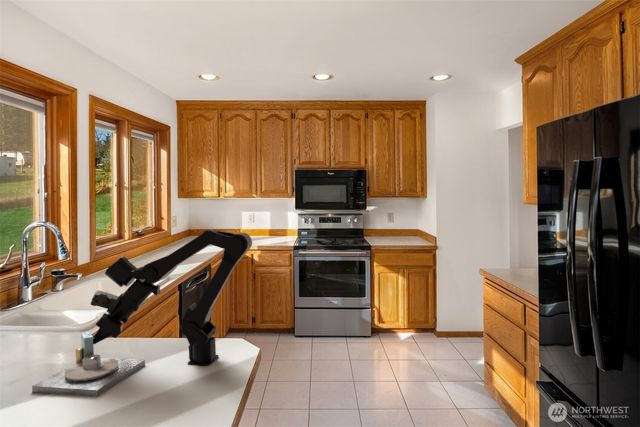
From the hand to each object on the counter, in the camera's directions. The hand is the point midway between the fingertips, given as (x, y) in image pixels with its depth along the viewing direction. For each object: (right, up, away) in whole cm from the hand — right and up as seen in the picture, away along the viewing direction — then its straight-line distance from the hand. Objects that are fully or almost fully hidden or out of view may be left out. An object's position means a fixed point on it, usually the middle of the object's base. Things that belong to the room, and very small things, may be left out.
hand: (92, 342), depth 109 cm
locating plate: (+3, -7, -6) cm, 10 cm away
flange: (+2, -5, -5) cm, 7 cm away
